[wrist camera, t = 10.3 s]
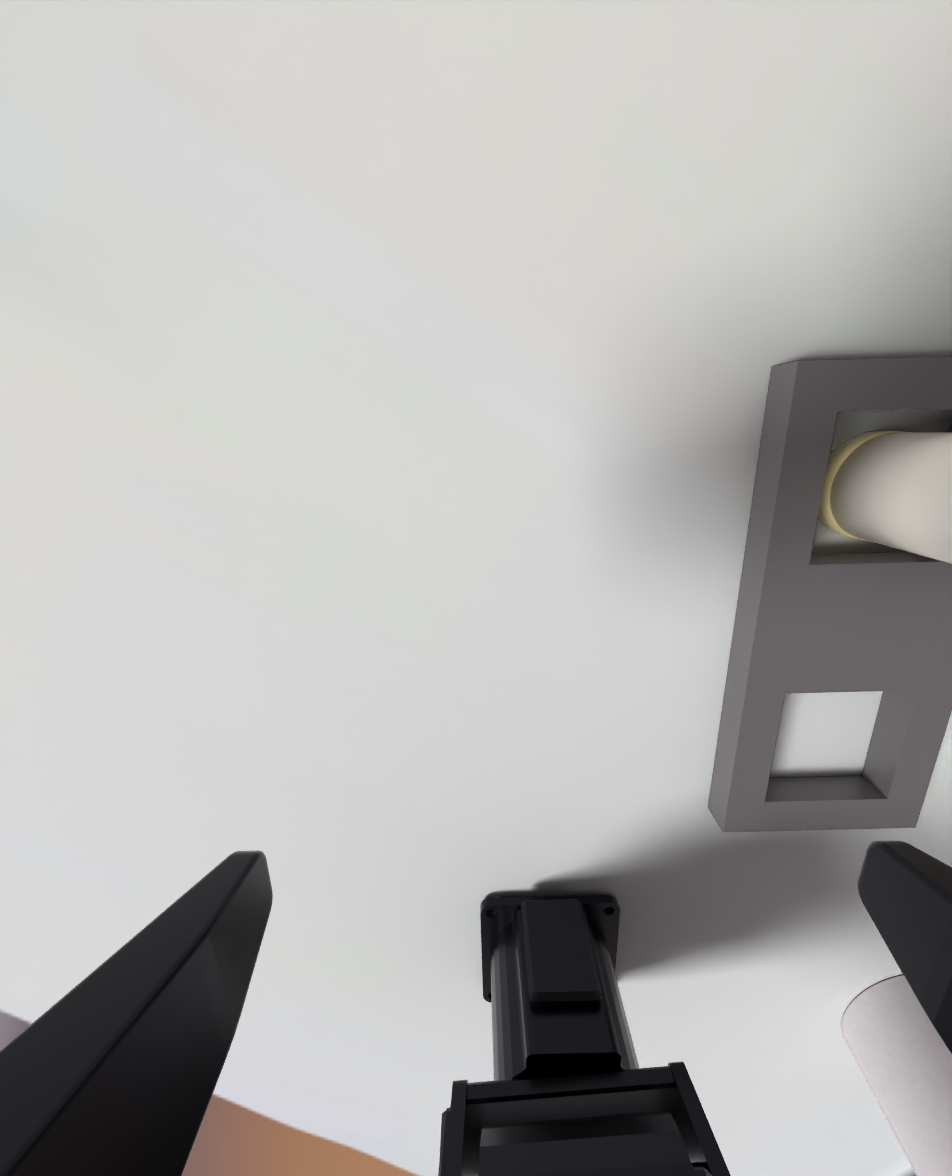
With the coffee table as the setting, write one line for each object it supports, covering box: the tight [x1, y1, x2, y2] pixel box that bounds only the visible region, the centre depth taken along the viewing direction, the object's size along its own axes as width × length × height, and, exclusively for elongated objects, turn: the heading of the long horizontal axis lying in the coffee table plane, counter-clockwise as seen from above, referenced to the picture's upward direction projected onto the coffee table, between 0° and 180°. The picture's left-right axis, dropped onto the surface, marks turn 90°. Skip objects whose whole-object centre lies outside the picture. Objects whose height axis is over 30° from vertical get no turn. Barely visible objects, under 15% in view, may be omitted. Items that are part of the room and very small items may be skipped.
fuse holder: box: [708, 356, 952, 832], centre depth 18 cm, size 18×8×1 cm, turn 2°
